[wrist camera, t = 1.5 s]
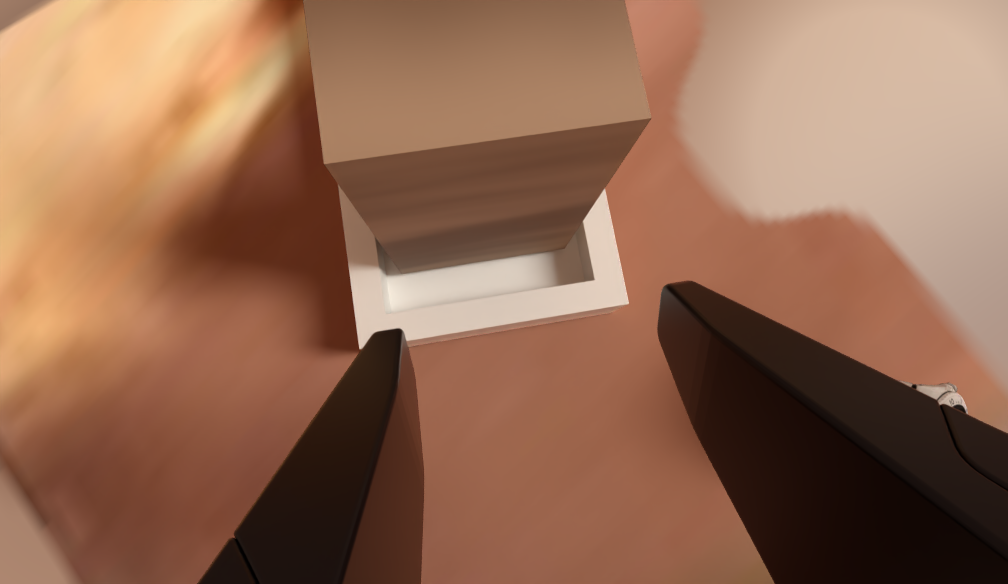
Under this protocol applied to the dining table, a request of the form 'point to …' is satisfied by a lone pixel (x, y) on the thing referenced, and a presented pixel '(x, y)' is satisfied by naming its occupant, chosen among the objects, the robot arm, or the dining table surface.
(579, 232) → the white rectangular recessed tray
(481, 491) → the dining table surface
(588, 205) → the walnut block
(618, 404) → the dining table surface
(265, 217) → the dining table surface
